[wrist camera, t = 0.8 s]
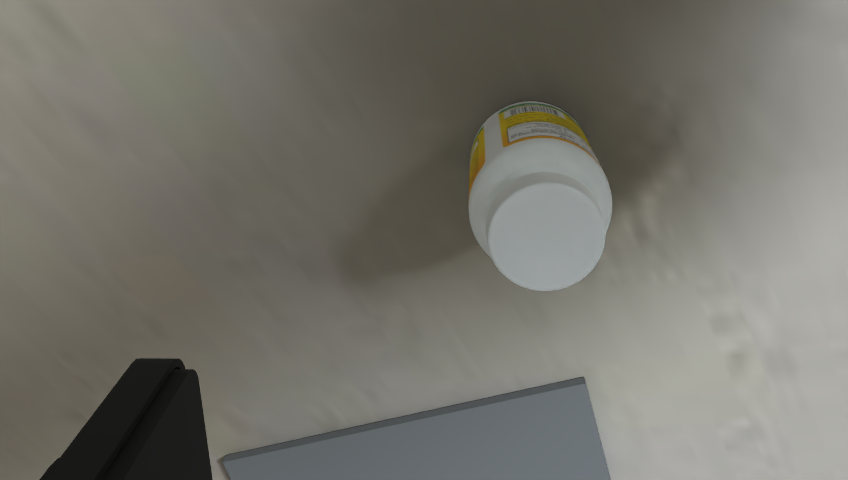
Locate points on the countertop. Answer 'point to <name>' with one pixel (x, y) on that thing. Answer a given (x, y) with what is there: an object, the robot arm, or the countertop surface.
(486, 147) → the supplement bottle
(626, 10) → the countertop surface
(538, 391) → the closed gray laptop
